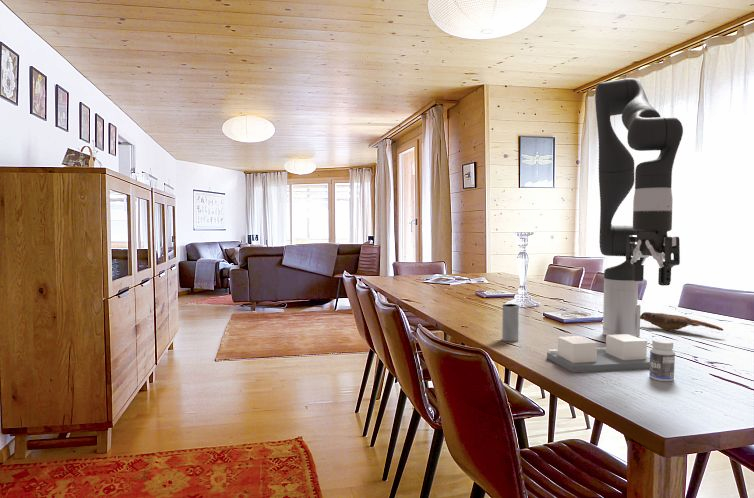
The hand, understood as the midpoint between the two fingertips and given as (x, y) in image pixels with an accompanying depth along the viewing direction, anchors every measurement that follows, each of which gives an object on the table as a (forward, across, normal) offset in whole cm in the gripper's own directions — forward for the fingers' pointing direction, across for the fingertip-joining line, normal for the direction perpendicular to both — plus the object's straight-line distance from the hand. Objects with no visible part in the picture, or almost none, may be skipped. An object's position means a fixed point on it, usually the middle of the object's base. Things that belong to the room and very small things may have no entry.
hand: (650, 283), depth 109 cm
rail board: (+21, +11, +4) cm, 24 cm away
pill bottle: (+21, -2, -2) cm, 21 cm away
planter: (+21, +37, +17) cm, 46 cm away
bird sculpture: (+20, +40, -39) cm, 60 cm away
